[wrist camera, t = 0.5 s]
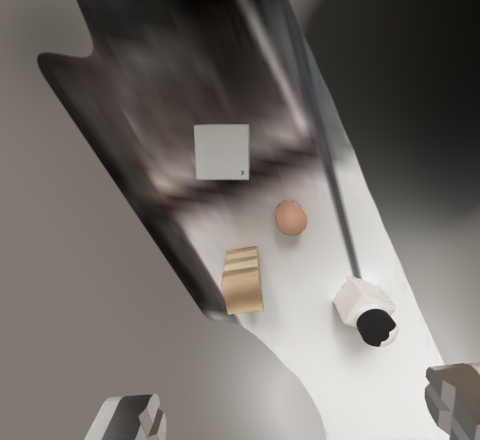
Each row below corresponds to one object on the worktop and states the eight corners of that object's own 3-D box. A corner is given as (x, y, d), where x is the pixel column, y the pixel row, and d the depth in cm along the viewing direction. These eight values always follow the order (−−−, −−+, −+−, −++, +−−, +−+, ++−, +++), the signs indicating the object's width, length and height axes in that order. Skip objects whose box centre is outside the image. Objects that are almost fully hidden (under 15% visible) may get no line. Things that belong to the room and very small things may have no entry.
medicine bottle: (331, 300, 58) (352, 344, 46) (349, 274, 55) (375, 313, 44) (361, 311, 58) (388, 357, 47) (379, 286, 56) (412, 327, 45)
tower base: (226, 250, 54) (225, 260, 51) (256, 246, 54) (256, 255, 50) (232, 276, 56) (230, 287, 53) (260, 272, 56) (261, 283, 52)
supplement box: (250, 123, 46) (250, 124, 34) (249, 167, 48) (249, 182, 37) (206, 123, 46) (192, 123, 34) (208, 166, 49) (195, 181, 37)
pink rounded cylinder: (273, 202, 51) (276, 210, 46) (300, 198, 50) (305, 206, 45) (276, 227, 52) (279, 237, 48) (302, 223, 52) (308, 233, 47)
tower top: (223, 271, 47) (221, 284, 43) (257, 266, 46) (258, 279, 43) (229, 299, 49) (228, 314, 45) (262, 295, 48) (263, 310, 45)
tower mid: (225, 260, 51) (223, 271, 47) (256, 255, 50) (257, 266, 46) (230, 287, 53) (229, 299, 49) (261, 283, 52) (262, 295, 48)
